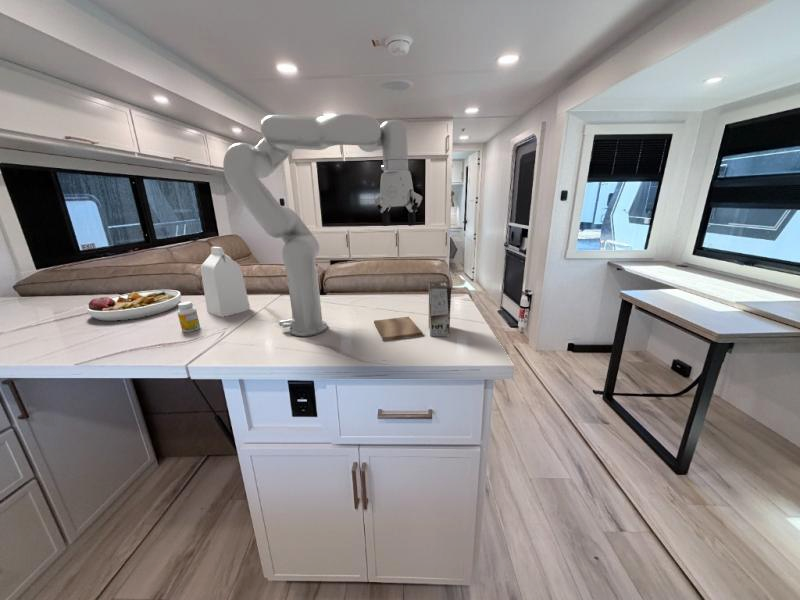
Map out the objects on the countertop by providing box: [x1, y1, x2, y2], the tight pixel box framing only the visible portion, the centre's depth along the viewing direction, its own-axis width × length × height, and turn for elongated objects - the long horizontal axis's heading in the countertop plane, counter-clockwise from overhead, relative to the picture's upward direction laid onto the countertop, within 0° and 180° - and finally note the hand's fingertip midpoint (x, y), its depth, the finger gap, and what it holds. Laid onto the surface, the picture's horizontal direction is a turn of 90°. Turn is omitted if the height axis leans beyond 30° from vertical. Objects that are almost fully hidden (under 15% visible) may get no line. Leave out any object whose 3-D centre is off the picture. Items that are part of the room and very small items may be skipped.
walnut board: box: [373, 316, 423, 342], centre depth 103 cm, size 13×15×1 cm
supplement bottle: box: [177, 300, 201, 333], centre depth 106 cm, size 5×5×10 cm
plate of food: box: [86, 289, 182, 322], centre depth 127 cm, size 30×30×8 cm
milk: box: [200, 246, 251, 318], centre depth 122 cm, size 12×12×26 cm
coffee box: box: [428, 280, 452, 337], centre depth 99 cm, size 9×6×16 cm
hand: (399, 225), depth 97 cm, fingers open, 9 cm apart
